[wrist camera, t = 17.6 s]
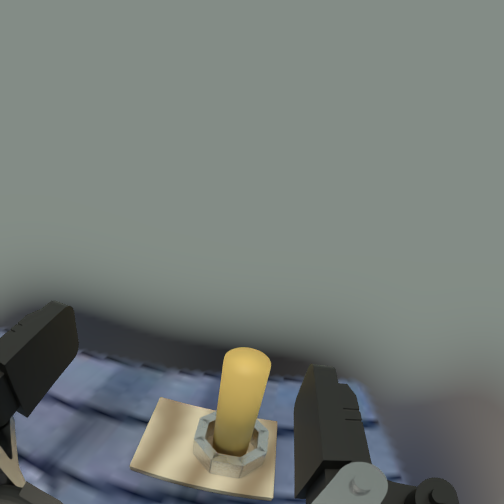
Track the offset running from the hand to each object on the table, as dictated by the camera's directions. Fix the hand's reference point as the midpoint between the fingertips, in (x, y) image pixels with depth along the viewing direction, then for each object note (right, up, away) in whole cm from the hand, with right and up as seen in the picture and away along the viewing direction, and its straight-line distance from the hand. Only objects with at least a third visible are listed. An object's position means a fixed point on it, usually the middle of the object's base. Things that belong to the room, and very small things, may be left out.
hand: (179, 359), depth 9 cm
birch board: (-3, -22, +24) cm, 33 cm away
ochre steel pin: (-1, -22, +24) cm, 32 cm away
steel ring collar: (-1, -22, +24) cm, 32 cm away
